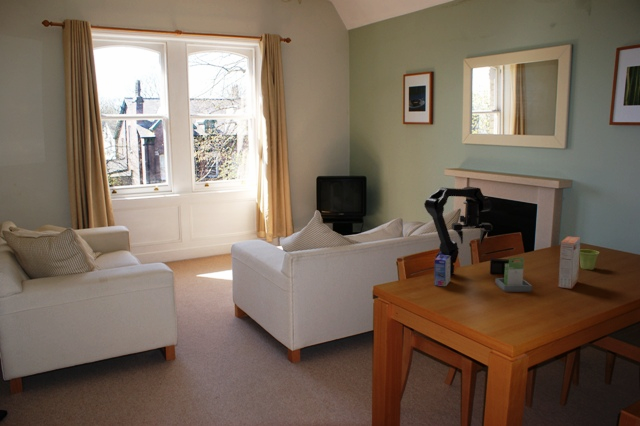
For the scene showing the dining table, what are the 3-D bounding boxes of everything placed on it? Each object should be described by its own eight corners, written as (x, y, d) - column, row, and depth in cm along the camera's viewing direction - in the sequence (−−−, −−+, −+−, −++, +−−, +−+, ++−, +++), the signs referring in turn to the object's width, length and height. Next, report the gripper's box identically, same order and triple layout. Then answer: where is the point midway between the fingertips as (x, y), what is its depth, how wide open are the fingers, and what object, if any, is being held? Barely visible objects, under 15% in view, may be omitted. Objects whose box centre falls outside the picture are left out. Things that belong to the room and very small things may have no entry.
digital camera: (490, 275, 262) (491, 260, 260) (489, 272, 267) (490, 258, 266) (513, 276, 259) (514, 262, 258) (511, 273, 264) (512, 259, 263)
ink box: (518, 284, 244) (520, 255, 242) (522, 287, 240) (524, 257, 238) (503, 284, 244) (505, 255, 241) (507, 287, 240) (508, 257, 238)
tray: (504, 291, 236) (504, 286, 235) (495, 283, 248) (495, 278, 247) (531, 291, 236) (532, 285, 235) (521, 283, 248) (522, 278, 247)
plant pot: (601, 269, 271) (603, 252, 270) (591, 271, 266) (592, 254, 265) (583, 265, 279) (584, 248, 277) (573, 267, 274) (574, 250, 272)
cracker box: (563, 279, 253) (567, 235, 250) (578, 281, 250) (581, 237, 246) (557, 287, 242) (560, 241, 238) (571, 289, 238) (575, 242, 235)
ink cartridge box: (438, 279, 254) (439, 249, 252) (450, 281, 252) (451, 250, 250) (433, 285, 245) (434, 254, 243) (445, 286, 243) (446, 255, 241)
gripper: (486, 209, 275) (485, 240, 277) (449, 210, 275) (448, 240, 277) (493, 213, 264) (491, 245, 266) (454, 213, 264) (453, 245, 266)
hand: (471, 243), depth 269 cm, fingers open, 9 cm apart
